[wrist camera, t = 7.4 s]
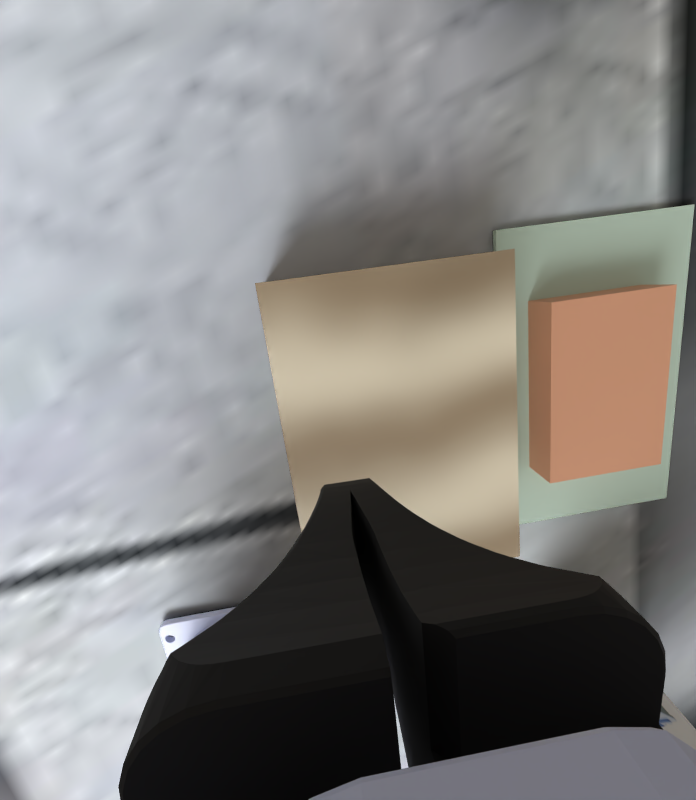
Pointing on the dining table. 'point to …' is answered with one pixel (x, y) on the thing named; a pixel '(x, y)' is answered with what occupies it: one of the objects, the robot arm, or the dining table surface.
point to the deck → (404, 388)
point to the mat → (587, 272)
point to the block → (598, 380)
